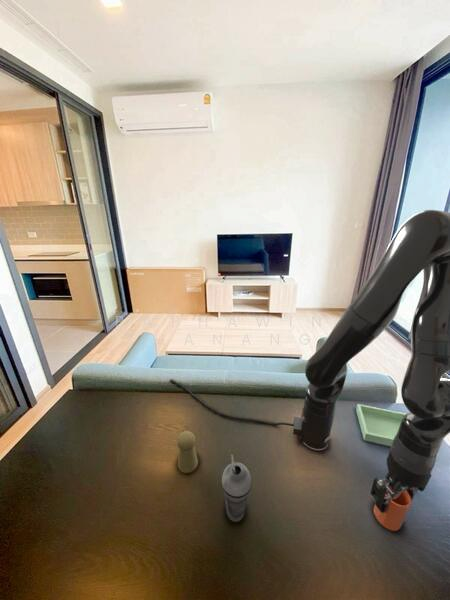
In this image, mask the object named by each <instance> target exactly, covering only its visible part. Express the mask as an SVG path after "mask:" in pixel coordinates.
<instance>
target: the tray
mask: <svg viewBox="0 0 450 600" xmlns="http://www.w3.org/2000/svg"><path fill="white" fill-rule="evenodd" d="M355 412H356V416H357V419H358V423H359V426H360V431H361V434H362V438H363V441H364V442H365V441H366V442H369V443H370V442H371V443H373V444H377V445H383V446H386V447H391V445H392V442H393V439H394V437H395V436H396V434H397V432H398V429H399V426H400V423H401V421H402V418H403V416H404V415H405V414H407V413H405V412H400V411H395V410H391V409H385V408H379V407H374V406H371V405H366V404H361V403H357V406H356V409H355Z"/></svg>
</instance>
